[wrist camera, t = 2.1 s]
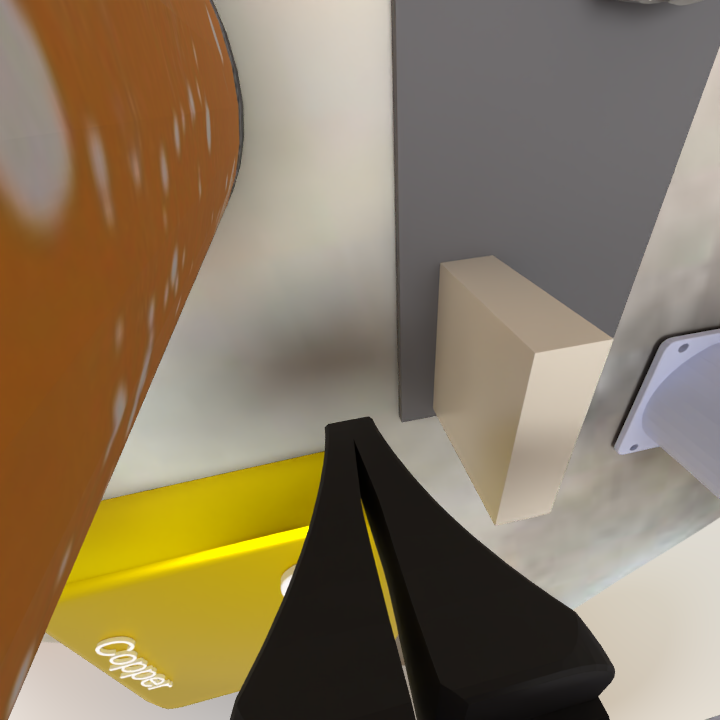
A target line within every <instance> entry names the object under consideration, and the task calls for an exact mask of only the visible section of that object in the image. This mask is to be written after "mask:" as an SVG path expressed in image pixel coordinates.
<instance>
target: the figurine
mask: <svg viewBox="0 0 720 720" xmlns="http://www.w3.org/2000/svg"><path fill="white" fill-rule="evenodd" d="M618 1H621V2H632V3H645V4H652V3H661V2H666V1H668V3H671V4H675V5H688V4H692V3H696V2H700V1H704V0H618Z"/></svg>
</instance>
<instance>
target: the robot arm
mask: <svg viewBox="0 0 720 720" xmlns="http://www.w3.org/2000/svg"><path fill="white" fill-rule="evenodd" d="M655 447H661V448H663V449H664V450H665V451H666V452H667V453H668V454H669V455H670V456H672V457H673V458H674V459H675V460H676V461H677V462H678V463H679V464H681V465H682V466H683V467H684V468H685V469H686V470H687V471H689V472H690V473H691V474H692V475H693V476H694V477H695V478H696V479H698V480H699V481H700V482H701V483H702V484H703V485H704V486H705V487H707V488H708V489H709V490H710V491H711V492H712V493H713V494H714V495H716V496H717V497H718V498H719V499H720V329H715V330H709V331H704V332H698V333H693V334H687V335H682V336H677V337H671V338H668V339H666V340H665V341H664V342H663V343H662V344H661V345H660V346H659V348H658V351H657V353H656V355H655V357H654V359H653V362H652V364H651V366H650V368H649V370H648V373H647V375H646V377H645V379H644V381H643V384H642V386H641V388H640V390H639V393H638V395H637V397H636V399H635V401H634V404H633V406H632V408H631V410H630V412H629V415H628V417H627V419H626V421H625V423H624V426H623V428H622V430H621V432H620V435H619V437H618V439H617V441H616V443H615V446H614V450H615V451H616V452H617V453H618V454H621V455H622V454H628V453H632V452H637V451H641V450H646V449H651V448H655ZM361 500H362V503H361ZM362 504H363V507H364V510H365V513H366V516H367V520H368V523H369V526H370V529H371V532H372V536H373V539H374V542H375V545H376V548H377V551H378V555H379V558H380V561H381V564H382V567H383V571H384V574H385V578H386V582H387V585H388V590H389V594H390V599H391V603H392V607H393V612H394V616H395V621H396V625H397V630H398V634H399V639H400V643H401V648H402V652H403V657H404V662H405V666H406V671H407V675H408V680H409V685H410V689H411V693H412V698H413V703H414V708H415V713H416V717H417V720H610V719H609V716H608V714H607V712H606V710H605V708H604V707H603V705H602V703H601V701H600V699H599V697H598V696H599V695H600V694H601V693H602V692H603V690H604V689H605V688H606V687H607V686H608V685H609V684H610V683H611V681H612V680H613V678H614V675H615V669H614V666H613V664H612V663H611V661H610V660H609V658H608V656H607V654H606V653H605V651H604V650H603V648H602V646H601V645H600V644H599V642H598V641H597V639H596V638H595V637H594V635H593V634H592V633H591V631H590V630H589V629H588V627H587V626H586V625H585V623H584V622H583V621H582V620H581V618H580V617H579V616H578V614H577V613H576V612H575V611H573V610H572V609H570V608H569V607H567V606H566V605H564V604H563V603H561V602H560V601H558V600H557V599H555V598H554V597H552V596H551V595H549V594H548V593H547V592H545V591H544V590H542V589H541V588H539V587H538V586H537V585H535V584H534V583H532V582H531V581H530V580H528V579H527V578H526V577H524V576H523V575H521V574H520V573H519V572H517V571H516V570H515V569H513V568H512V567H511V566H509V565H508V564H507V563H505V562H504V561H503V560H502V559H501V558H499V557H498V556H497V555H496V554H494V553H493V552H492V551H491V550H489V549H488V548H487V547H486V546H485V545H483V544H482V543H481V542H480V541H478V540H477V539H476V538H475V537H474V536H472V535H471V534H470V533H469V532H468V531H467V530H466V529H465V528H463V527H462V526H461V525H460V524H459V523H458V522H457V521H456V520H455V519H454V518H453V517H452V516H450V515H449V514H448V513H447V512H446V511H445V510H444V509H443V508H442V507H441V506H440V505H439V504H438V503H437V502H436V501H435V500H434V499H433V498H432V497H431V496H430V494H429V493H428V492H427V491H426V490H425V489H424V488H423V487H422V486H421V485H420V484H419V482H418V481H417V480H416V479H415V478H414V477H413V476H412V474H411V473H410V472H409V471H408V470H407V468H406V467H405V466H404V465H403V463H402V462H401V461H400V460H399V458H398V457H397V456H396V454H395V453H394V452H393V451H392V449H391V448H390V446H389V445H388V444H387V442H386V441H385V439H384V438H383V436H382V435H381V433H380V432H379V430H378V428H377V427H376V425H375V423H374V421H373V419H372V418H370V417H363V418H358V419H353V420H347V421H342V422H337V423H332V424H328V425H327V426H326V427H325V453H324V461H323V467H322V473H321V479H320V484H319V489H318V494H317V498H316V502H315V506H314V510H313V514H312V518H311V521H310V525H309V528H308V531H307V535H306V538H305V541H304V544H303V547H302V550H301V553H300V556H299V559H298V561H297V564H296V567H295V570H294V572H293V575H292V578H291V580H290V583H289V586H288V588H287V591H286V593H285V595H284V598H283V600H282V602H281V605H280V607H279V609H278V612H277V614H276V616H275V618H274V621H273V623H272V625H271V628H270V630H269V632H268V634H267V637H266V639H265V641H264V643H263V645H262V647H261V649H260V651H259V653H258V655H257V657H256V659H255V661H254V663H253V665H252V667H251V669H250V671H249V673H248V675H247V677H246V679H245V681H244V683H243V685H242V687H241V689H240V691H239V694H238V695H237V697H236V700H235V703H234V707H233V710H232V714H231V718H230V720H416V719H415V715H414V711H413V706H412V702H411V698H410V695H409V691H408V687H407V684H406V680H405V676H404V673H403V669H402V665H401V661H400V657H399V653H398V649H397V646H396V642H395V638H394V634H393V630H392V627H391V623H390V619H389V615H388V611H387V607H386V603H385V599H384V595H383V591H382V588H381V584H380V580H379V576H378V572H377V568H376V564H375V559H374V555H373V551H372V547H371V543H370V539H369V535H368V531H367V527H366V522H365V518H364V514H363V509H362ZM706 720H720V715H719V716H715V717H712V718H709V719H706Z"/></svg>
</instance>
